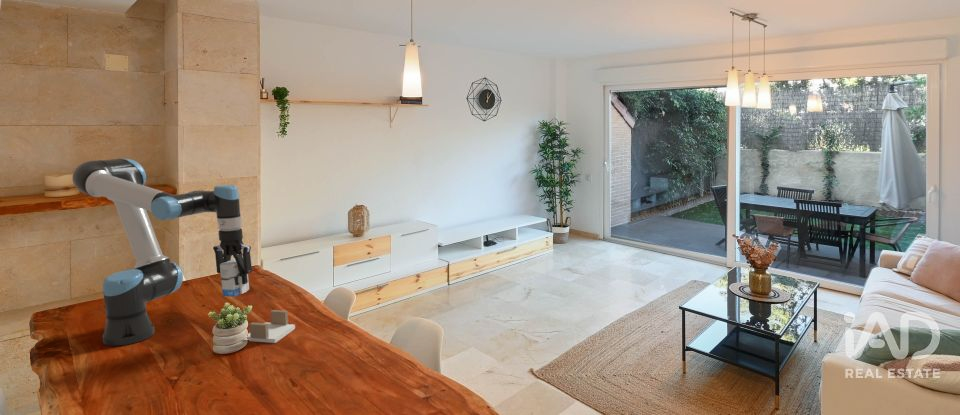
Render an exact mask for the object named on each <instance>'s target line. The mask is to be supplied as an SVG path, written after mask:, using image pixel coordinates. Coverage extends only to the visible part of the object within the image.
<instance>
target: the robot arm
mask: <svg viewBox="0 0 960 415" xmlns="http://www.w3.org/2000/svg"><path fill="white" fill-rule="evenodd" d="M71 176H72V177H71V178H72V179H71V180H72V183H73V185H74V186H75V188H76V189H77V190H78V191H79V192H81V193H83V194H84V195H87V196H91V197H95V198H100V197H102V198H103V197H104V198H106V199H107V200H109V201H111V202H113V204H114V206H115V209H116V212H117V213H118V217H119V219H120V222H121V224H122V227H123V230H124V233H125V235H126V238H127V240H128V243H129V246H130V248H131V250H132V254H133V256H134V259H135V262H136V263H135V265H134V267H133V268H131V269H125V270H120V271H117V272H114V273H112V274H110V275H108V276H107V277H105V278H104V280H103V282H102V295H103V299H104V307H105V309H104V310H105V316H106V322H105V326H104V332H103V333H102V343H103V344H104V345H106V346H108V347H109V346H110V347H113V346H114V347H116V346H126V345H131V344H135V343H140V342H142V341H145V340H147V339H149V338H151V337H153V335H154V334H155V327H154V326H155V325H154V324H153V323H152V320H151V318H150V317H149V315H148V313H147V303H149V302H152V301H155V300H157V299H160V298H162V297H166V296H169V295H171V294H173V293H174V292H176V291H178V290H179V289H180V287H182V283H183V279H184V276H183V271H182V269H181V267H180V265H178V264H177V263H176V262H173V261H171V260H170V257H169V256H166V255H164V254H163V251H162V249H161V246H160V243H159V241H158V238H157V235H156V233H155V230H154V226H153V225H152V222H151V220H150V217H149V214H148V211H149V212H150V213H152V215H153V217H155V218H156V219H157V220H160V221H166V220H171V221H172V220H174V219H175V220H176V219H177V218H183V217H187V216H192V215H196V214H201V213H215V214H216V220H217V229H218V231H217V232H218V239H219V241H220V243H219V244H217V245H215V246H213V248H212V250H213V251H214V254H215V264H216V265H215V266H216V272H217V274H220V275H221V272H220V264H221V263H224V262H228V261H230V260H232V257H233V259H235V260H236V263H237V266H238V269H239V272H240V275H239V286H240V294H239V295H242V294H245V293H247V292H248V290H247V287H246V283H247V282H248V281H249V279H248V280H247V274H248V275H249V274H251V273H252V272H253V267H252V260H251V259H252V258H251V257H252V256H251V249H252V247H251V245H246V244H244V242H243V238H244V237H243V236H244V235H243V229H242V226H243V224H242V216H241V210H240V209H241V205H240V194H239V189H238V187H237V186H236V185H235V184H224V185H223V184H221V185H216V186H214V187H213V190H191V191H188V192H187V193H180V194H171V193H169V192H165V191H163V190H159V189H156V188H152V187H150V186H147V185H145V184H146V182H147V181H146V180H147V175H146V171H145V169H144V167H143V166H142V165H141V164H140V163H139V162H138V161H136V160H134V159H129V158H116V159H115V158H114V159H113V158H111V159H101V160H99V159H97V160H88V161H84V162H83V163H81V164H79V165H78V166H77V167H76V168H75V169H74V170H73V173H72V175H71Z"/></svg>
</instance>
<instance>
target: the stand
mask: <svg viewBox="0 0 960 415" xmlns="http://www.w3.org/2000/svg"><path fill="white" fill-rule="evenodd" d="M295 329H296V324H291V323H290V324H289V313H288V310H278V309H272V310H271V311H270V322H251V323H250V324H249V333H247V334H248V336H247V339H248V340H249V341H248V342H256V343H257V342H258V343H270V344H275V343H278V342H279V341H280V340H282V339H283V338H284V337H285V336H287V335H288V334H290V333H291V332H292V331H294V330H295Z"/></svg>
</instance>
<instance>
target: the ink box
mask: <svg viewBox="0 0 960 415" xmlns="http://www.w3.org/2000/svg"><path fill="white" fill-rule="evenodd" d="M220 272H221V274H220V280H221V289H222V296H223V297H229V298H231V297H233V298H236V297H237V296H239V295H241V294H240V286H239V275H240V272H239V269H238V266H237V263H236V260H235V258H233V259H232V258H231V260H230V261H228V262H224V263H221V264H220ZM247 280H248V282H247V283H246V287H247V291H249V290H250V283H249V274H247Z"/></svg>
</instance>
